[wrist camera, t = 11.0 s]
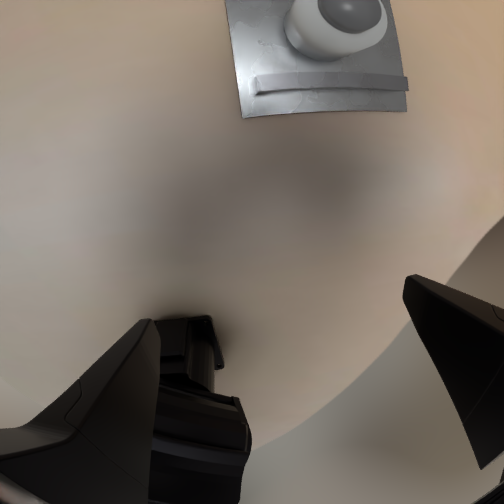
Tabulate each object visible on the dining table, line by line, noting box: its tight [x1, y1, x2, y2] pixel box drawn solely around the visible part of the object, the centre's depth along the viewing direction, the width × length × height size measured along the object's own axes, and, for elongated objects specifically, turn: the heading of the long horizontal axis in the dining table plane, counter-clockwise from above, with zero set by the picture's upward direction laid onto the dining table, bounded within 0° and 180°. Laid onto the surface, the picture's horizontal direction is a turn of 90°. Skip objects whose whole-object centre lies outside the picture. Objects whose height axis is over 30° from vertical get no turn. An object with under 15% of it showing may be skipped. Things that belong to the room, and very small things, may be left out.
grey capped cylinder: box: [284, 0, 387, 61], centre depth 12 cm, size 5×5×6 cm
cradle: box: [225, 0, 409, 118], centre depth 14 cm, size 12×12×2 cm
